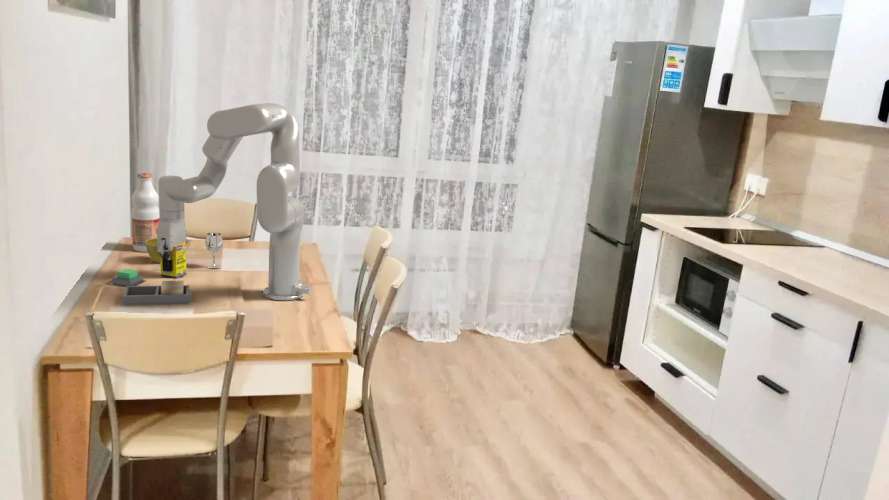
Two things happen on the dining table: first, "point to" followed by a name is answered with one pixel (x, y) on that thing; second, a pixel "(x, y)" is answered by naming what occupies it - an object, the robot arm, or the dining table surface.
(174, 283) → the block
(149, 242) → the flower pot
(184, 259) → the supplement box
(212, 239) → the wineglass
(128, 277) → the button
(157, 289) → the divided grey tray
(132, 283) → the button housing
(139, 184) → the fruit juice
